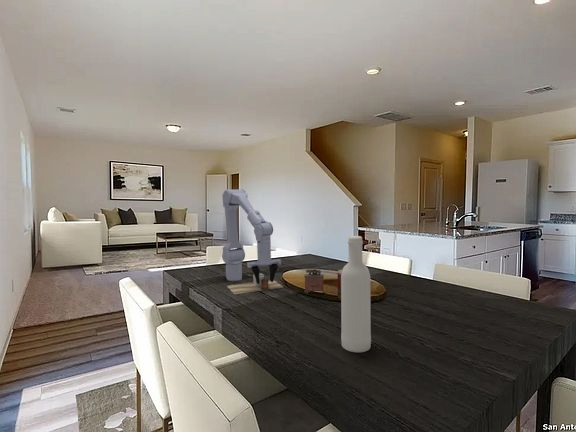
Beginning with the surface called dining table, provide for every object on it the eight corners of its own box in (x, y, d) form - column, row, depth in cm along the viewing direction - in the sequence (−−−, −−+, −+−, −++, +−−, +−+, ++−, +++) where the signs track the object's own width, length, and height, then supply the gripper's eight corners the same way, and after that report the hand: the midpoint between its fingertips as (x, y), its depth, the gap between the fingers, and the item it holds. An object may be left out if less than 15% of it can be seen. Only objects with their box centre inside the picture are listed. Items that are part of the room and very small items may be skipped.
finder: (253, 282, 151) (253, 273, 151) (261, 281, 153) (261, 272, 152) (257, 286, 146) (257, 276, 145) (266, 285, 147) (265, 275, 147)
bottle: (376, 345, 91) (376, 236, 89) (361, 356, 85) (361, 239, 83) (350, 337, 96) (350, 234, 94) (335, 346, 90) (334, 237, 88)
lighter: (323, 291, 141) (323, 268, 140) (323, 293, 137) (323, 270, 136) (304, 291, 141) (304, 268, 141) (304, 293, 138) (304, 269, 137)
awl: (260, 287, 143) (260, 274, 143) (267, 286, 144) (266, 274, 144) (262, 289, 140) (262, 276, 140) (269, 288, 142) (269, 275, 141)
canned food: (334, 300, 129) (334, 272, 128) (341, 294, 136) (341, 268, 135) (354, 303, 125) (354, 274, 124) (360, 297, 132) (359, 269, 131)
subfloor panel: (226, 288, 148) (226, 285, 148) (272, 282, 157) (272, 279, 156) (234, 297, 135) (234, 294, 135) (284, 289, 144) (284, 287, 144)
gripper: (250, 254, 135) (251, 286, 136) (283, 251, 140) (284, 282, 141) (245, 251, 141) (246, 282, 142) (277, 248, 147) (278, 278, 148)
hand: (264, 282), depth 142 cm, fingers open, 6 cm apart
